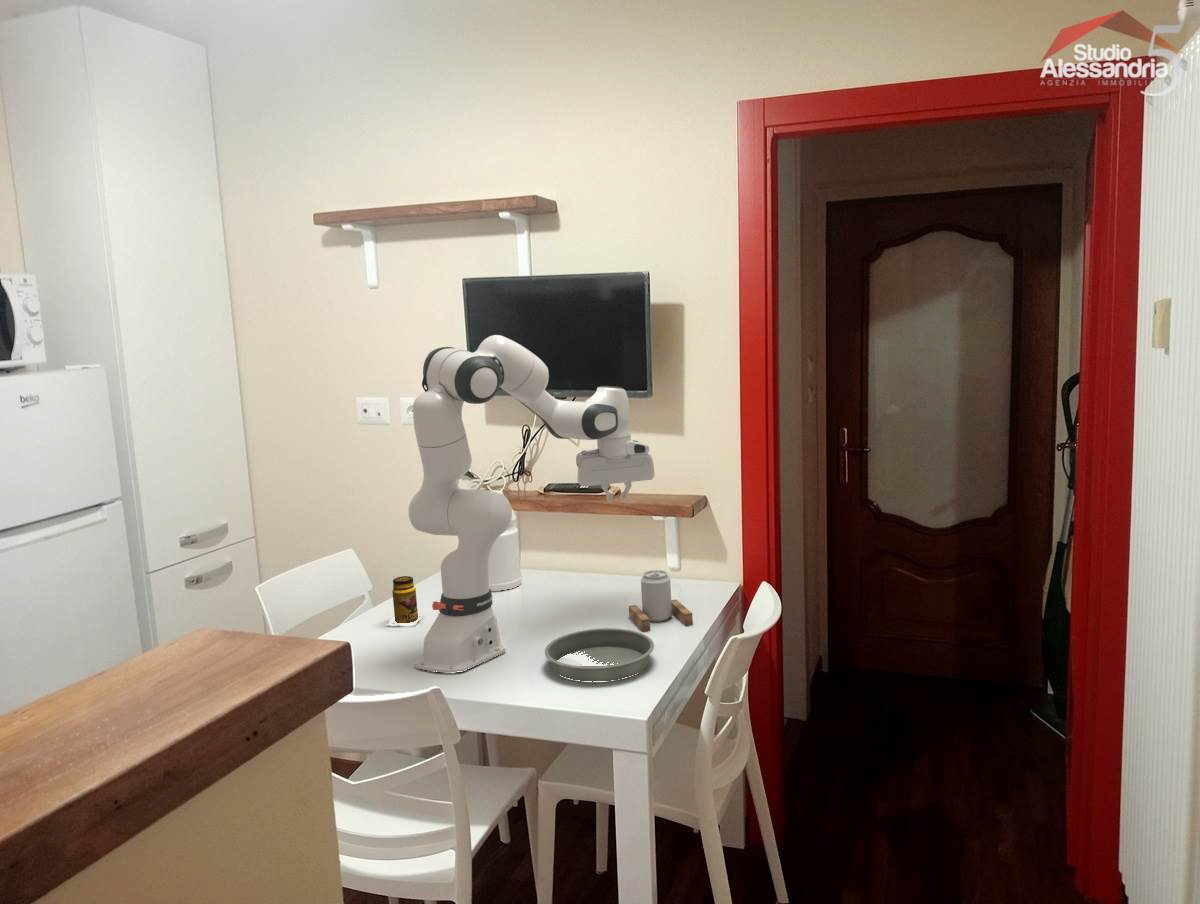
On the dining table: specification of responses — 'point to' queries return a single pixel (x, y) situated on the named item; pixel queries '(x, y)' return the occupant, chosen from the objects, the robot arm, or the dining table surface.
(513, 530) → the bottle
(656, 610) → the can
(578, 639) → the cake pan
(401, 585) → the condiment
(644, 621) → the parallel wooden bars
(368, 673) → the dining table surface
